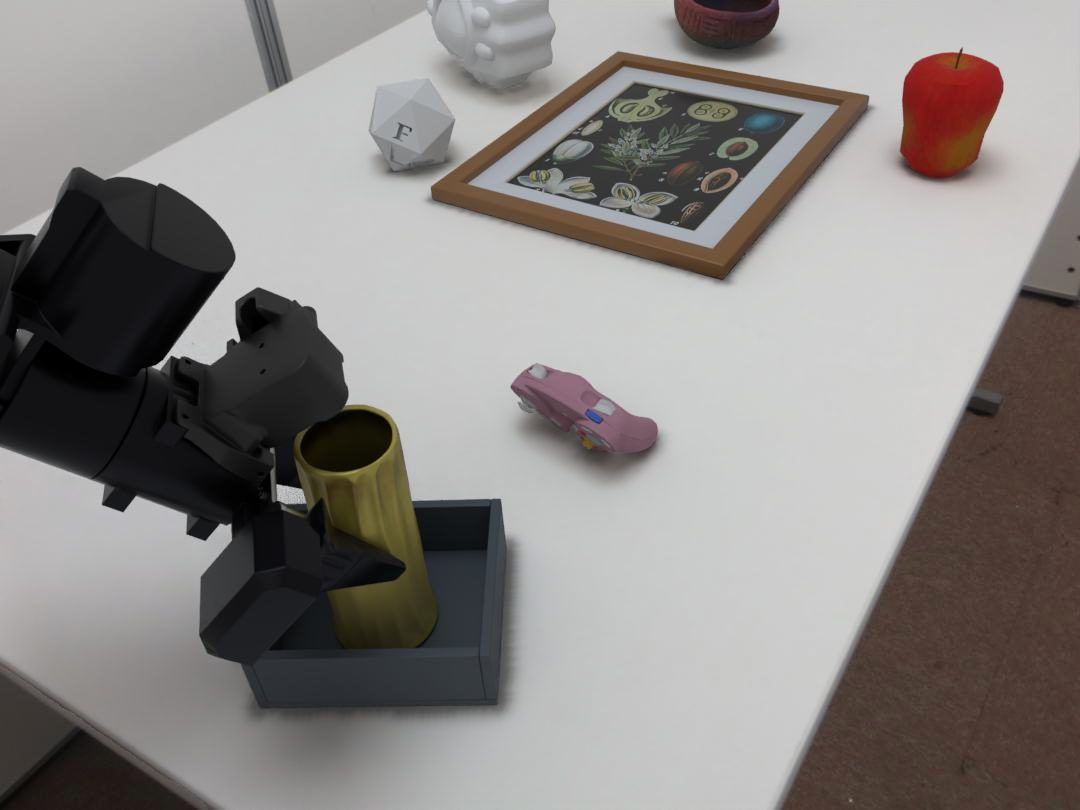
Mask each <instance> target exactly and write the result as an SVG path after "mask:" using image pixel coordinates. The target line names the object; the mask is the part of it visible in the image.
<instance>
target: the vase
mask: <svg viewBox="0 0 1080 810" xmlns="http://www.w3.org/2000/svg"><path fill="white" fill-rule="evenodd" d="M293 451H294V457H295V462H296V467H297V471H298V475H299V479H300V483H301V486H302V489H301V490H302V493H303V496H304V500H305V503H306V504H307V508H308V512H309V511H310V509H311V508H312V507H313V506H314V505H315V504H316V503H317V502H318V500H319V499H320V498H323V499H324V500H325V503H326V506H327V509H328V513H329V516H330V519H331V523H332V525H333V526H334V527H336V528H338V529H340V530H342V531H344V532H346V533H349V534H351V535H353V536H355V537H357V538H359V539H361V540H363V541H365V542H367V543H370V544H372V545H374V546H376V547H378V548H380V549H382V550H384V551H386V552H388V553H390V554H391V555H393V556H395V557H396V558H398V559H400V560H401V561H403V562H404V563H405V565H406V571H405V572H404V573H403V574H402V575H401V576H400V577H399V578H398V579H397V580H395V581H390V582H383V583H377V584H370V585H364V586H357V587H350V588H344V589H337V590H331V591H327V594H328V597H329V600H330V604H331V607H332V610H333V625H334V630H335V633H336V636H337V638H338V640H339V641H340V643H341V644H342V645H343V646H344V647H345V648H346V649H388V648H416V647H417V646H419V645H420V644H421V643H422V642H423V641H424V640H425V639H426V638H427V637H428V636H429V634H430V633H431V631H432V630H433V628H434V626H435V623H436V621H437V618H438V605H437V600H436V596H435V594H434V592H433V589H432V587H431V584H430V581H429V578H428V574H427V570H426V565H425V560H424V555H423V548H422V543H421V538H420V534H419V529H418V525H417V520H416V516H415V511H414V507H413V503H412V501H413V499H412V494H411V487H410V480H409V474H408V471H407V465H406V461H405V454H404V449H403V445H402V440H401V434H400V430H399V428H398V425H397V423H396V422H395V421H394V419H393V417H392V416H391V415H390V414H389V413H388V412H386V411H384V410H382V409H380V408H377V407H375V406H371V405H367V404H346V405H345V406H344V408H343V409H342V410H341V411H340V412H339V413H338V414H337V415H335V416H334V417H332V418H331V419H329V420H327V421H319V422H317V423H315V424H314V425H312V426H310V427H309V428H307V429H305V430H304V431H302V432H300V433H299V434H297V436H296V437H295V441H294V448H293Z"/></svg>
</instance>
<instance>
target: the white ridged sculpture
mask: <svg viewBox="0 0 1080 810" xmlns="http://www.w3.org/2000/svg"><path fill="white" fill-rule="evenodd" d="M549 7H550V0H427V2H426V11H427V13H428V15H430V16H431V25H432V29H433V31H434V35H435V37H436V39H437V41H438V42H439V43H440V44H441V45H442V46H443V48H445V49H446V51H447V52H448V53H449V55H451V57H452V58H453V59H454V60H455V61H457V62H458V64H460V66H462V67H463V68H464V69H465V70H466V71H467V72H468V73H470V74H471V75H472V76H473V78H474V79H475V80H476V81H477V83H479V84H480V85H485V84H489V85H490V86H491V87H493V88H495V89H498V90H499V89H501V90H503V89H506V88H509V87H513V86H516V85H519V84H522V83H524V82H526V81H527V79H528V78H529V77H530V76H531V74H532V73H533V72H537V71H539V70H542V69H544V68H548V67H550V66H551V65H552V64H553V57H554V55H553V49H552V40H553V38H554V36H555V34H556V30H557V26H556V23H555V20H554V19H553V17H552V15H551V13H550V9H549Z"/></svg>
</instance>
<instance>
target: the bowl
mask: <svg viewBox="0 0 1080 810" xmlns="http://www.w3.org/2000/svg"><path fill="white" fill-rule="evenodd" d="M673 9H674V15H675V19H676V21H677V24H678V26H679V27H680V29H681V31H682V32H683V33H684V34H685V36H686V37H688V38H689V39H690V40H691V41H693V42H694V43H696V44H698V45H701V46H703V47H707V48H713V49H716V50H717V49H718V50H727V51H728V50H735V49H740V48H741V49H742V48H746V47H748V46H751V45H755V44H756V43H758V42H761V40H764V39H765V38H766V37H767V36H769V34H771V33H772V31H773V30H774V28H775V27H776V24H777V22H778V19H779V16H780V9H781V8H780V0H673Z"/></svg>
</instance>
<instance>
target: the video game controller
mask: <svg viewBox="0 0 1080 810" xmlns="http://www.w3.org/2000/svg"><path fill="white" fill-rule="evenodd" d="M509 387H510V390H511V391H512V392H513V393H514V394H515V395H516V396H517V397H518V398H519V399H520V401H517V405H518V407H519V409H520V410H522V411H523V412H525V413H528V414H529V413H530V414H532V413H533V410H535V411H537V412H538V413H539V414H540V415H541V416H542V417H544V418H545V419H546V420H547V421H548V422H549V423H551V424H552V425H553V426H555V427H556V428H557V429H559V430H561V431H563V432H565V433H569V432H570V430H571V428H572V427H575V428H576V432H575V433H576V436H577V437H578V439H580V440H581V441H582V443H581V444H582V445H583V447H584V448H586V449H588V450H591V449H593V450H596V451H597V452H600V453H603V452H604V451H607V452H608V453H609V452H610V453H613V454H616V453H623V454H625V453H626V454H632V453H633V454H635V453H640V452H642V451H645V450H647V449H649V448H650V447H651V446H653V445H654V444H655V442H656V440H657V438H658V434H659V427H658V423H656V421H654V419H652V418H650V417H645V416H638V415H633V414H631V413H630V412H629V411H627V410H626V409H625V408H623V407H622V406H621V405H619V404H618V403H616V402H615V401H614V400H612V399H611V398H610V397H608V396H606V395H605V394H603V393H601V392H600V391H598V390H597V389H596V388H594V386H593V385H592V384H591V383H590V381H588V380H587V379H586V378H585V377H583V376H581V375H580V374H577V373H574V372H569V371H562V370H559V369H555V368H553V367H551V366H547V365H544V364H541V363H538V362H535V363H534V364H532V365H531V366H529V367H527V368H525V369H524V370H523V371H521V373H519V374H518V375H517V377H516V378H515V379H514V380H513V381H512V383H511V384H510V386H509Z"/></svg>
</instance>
